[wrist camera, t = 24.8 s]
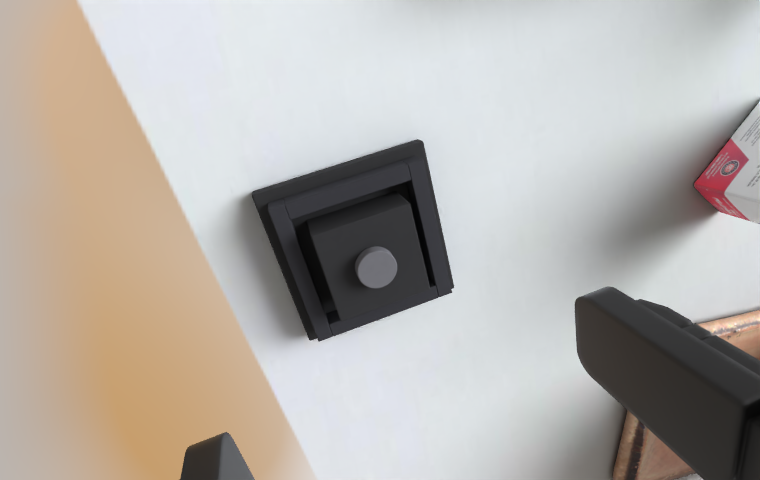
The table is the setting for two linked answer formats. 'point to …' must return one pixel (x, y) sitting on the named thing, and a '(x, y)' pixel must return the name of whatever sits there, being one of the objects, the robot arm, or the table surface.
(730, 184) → the ink box
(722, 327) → the case
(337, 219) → the dark block with knob
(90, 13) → the table surface
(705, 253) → the table surface
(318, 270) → the base pad
